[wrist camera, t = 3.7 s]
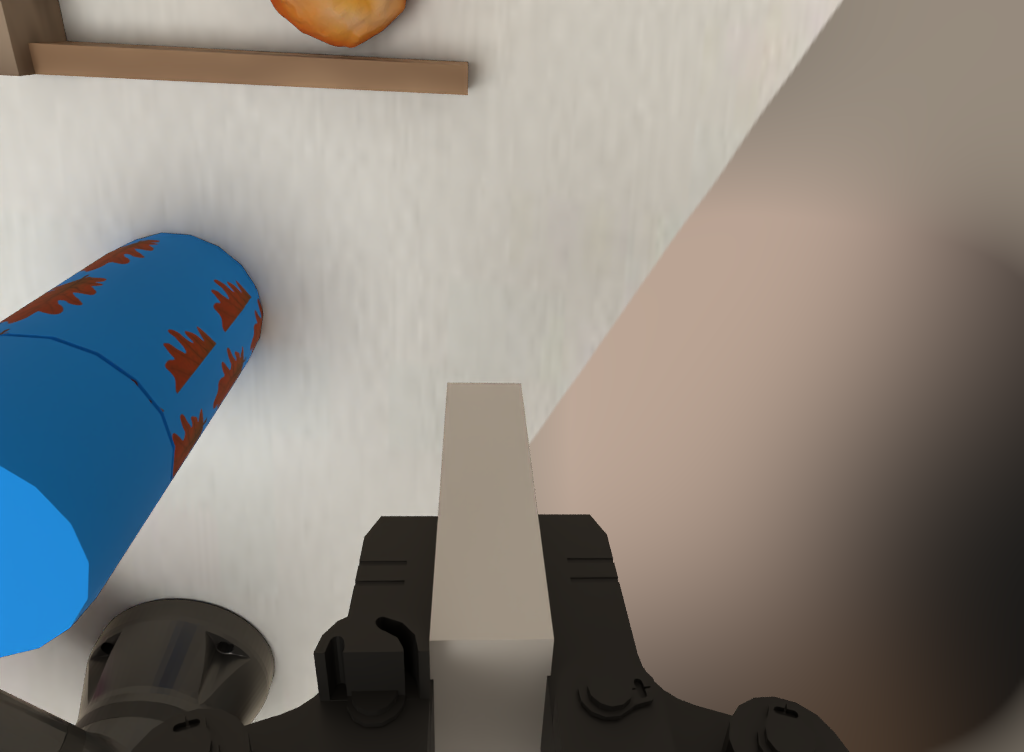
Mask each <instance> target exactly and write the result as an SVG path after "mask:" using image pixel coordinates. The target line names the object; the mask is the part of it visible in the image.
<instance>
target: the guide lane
mask: <svg viewBox="0 0 1024 752" xmlns="http://www.w3.org/2000/svg"><path fill="white" fill-rule="evenodd" d="M32 74H44V75H64V76H85V77H106V78H127V79H147V80H168V81H189V82H210V83H230V84H251V85H272V86H293V87H313V88H334V89H355V90H375V91H396V92H417V93H438V94H458V95H468V62H457V61H437V60H418V59H399V58H379V57H360V56H341V55H322V54H302V53H283V52H264V51H244V50H225V49H206V48H187V47H167V46H148V45H129V44H109V43H90V42H71V41H67V39H66V34H65V30H64V25H63V20H62V16H61V11H60V6H59V2H58V0H0V75H10V76H23V75H32Z"/></svg>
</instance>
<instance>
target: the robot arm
mask: <svg viewBox="0 0 1024 752" xmlns="http://www.w3.org/2000/svg"><path fill="white" fill-rule="evenodd" d="M314 659H315V667H316V675H317V682H318V690H319V693H318V694H317V695H316V696H315V697H313V698H312V699H310V700H309V701H307V702H306V703H304V704H303V705H301V706H300V707H298V708H295V709H293V710H291V711H288V712H286V713H283V714H281V715H278V716H274V717H271V718H268V719H265V720H261V721H258V722H255V723H252V721H253V720H254V718H255V717H256V716H257V714H258V713H259V712H260V710H261V708H262V707H263V705H264V703H265V701H266V698H267V695H268V692H269V689H270V685H271V682H272V679H273V674H274V660H273V656H272V653H271V650H270V648H269V646H268V644H267V643H266V641H265V640H264V638H263V637H262V636H261V634H260V633H259V632H258V631H257V630H256V629H255V628H254V627H252V626H251V625H250V624H249V623H247V622H246V621H245V620H243V619H242V618H240V617H238V616H237V615H235V614H233V613H231V612H229V611H227V610H224V609H222V608H219V607H216V606H213V605H210V604H206V603H202V602H196V601H189V600H159V601H153V602H148V603H144V604H140V605H138V606H135V607H132V608H130V609H128V610H126V611H124V612H123V613H121V614H119V615H118V616H117V617H115V618H114V619H113V620H112V621H111V622H110V623H109V624H108V625H107V627H106V628H105V629H104V631H103V633H102V634H101V636H100V638H99V639H98V641H97V643H96V644H95V646H94V648H93V650H92V652H91V654H90V657H89V660H88V663H87V668H86V674H85V680H84V686H83V692H82V698H81V704H80V710H79V716H78V721H77V723H76V725H73V724H71V723H69V722H67V721H65V720H63V719H61V718H59V717H57V716H55V715H52V714H50V713H48V712H46V711H44V710H42V709H40V708H38V707H36V706H34V705H32V704H30V703H28V702H26V701H24V700H22V699H20V698H17V697H15V696H13V695H11V694H9V693H7V692H5V691H3V690H1V689H0V752H849V751H848V750H847V748H846V747H845V746H844V744H843V743H842V742H841V741H840V739H839V738H838V737H837V735H836V734H835V733H834V732H833V731H832V730H831V729H830V728H829V727H828V726H827V725H826V724H825V723H824V722H823V721H822V720H821V719H820V718H819V717H818V716H817V715H816V714H814V713H813V712H811V711H809V710H808V709H806V708H804V707H802V706H801V705H799V704H797V703H795V702H791V701H788V700H784V699H780V698H777V697H760V698H753V699H751V700H749V701H747V702H745V703H743V704H741V705H739V706H738V708H737V710H736V711H735V713H734V714H733V716H731V715H728V714H724V713H721V712H717V711H713V710H710V709H706V708H703V707H699V706H696V705H693V704H690V703H688V702H685V701H682V700H680V699H677V698H676V697H674V696H673V695H671V694H669V693H668V692H666V691H664V690H663V689H662V688H661V687H660V686H659V685H657V684H656V683H655V682H654V680H653V678H652V677H651V676H650V675H649V674H648V673H647V672H646V671H645V669H644V668H643V666H642V664H641V662H640V659H639V656H638V654H637V650H636V646H635V642H634V639H633V634H632V630H631V627H630V623H629V619H628V615H627V611H626V607H625V604H624V599H623V596H622V592H621V588H620V584H619V582H618V576H617V572H616V568H615V565H614V563H613V557H612V553H611V549H610V545H609V542H608V537H607V534H606V533H605V532H604V531H603V530H602V528H601V527H600V526H599V525H598V524H597V523H596V521H595V520H594V519H593V518H592V517H591V516H590V515H538V512H537V504H536V497H535V489H534V481H533V473H532V466H531V458H530V451H529V442H528V434H527V427H526V419H525V411H524V403H523V396H522V388H521V384H516V383H447V397H446V411H445V425H444V439H443V453H442V468H441V482H440V496H439V510H438V516H381V517H380V519H379V520H378V521H377V522H376V523H375V525H374V526H373V527H372V528H371V530H370V531H369V532H368V533H367V535H366V536H365V537H364V542H363V546H362V551H361V556H360V563H359V566H358V570H357V575H356V580H355V586H354V590H353V594H352V599H351V604H350V609H349V614H348V617H346V618H344V619H341V620H339V621H337V622H336V623H335V624H334V625H333V626H332V627H331V628H330V629H329V630H328V631H327V632H325V633H324V634H323V635H322V637H321V639H320V641H319V643H318V645H317V647H316V649H315V651H314ZM251 723H252V724H251Z"/></svg>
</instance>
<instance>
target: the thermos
mask: <svg viewBox="0 0 1024 752" xmlns="http://www.w3.org/2000/svg"><path fill="white" fill-rule="evenodd" d="M262 318H263V311H262V307H261V303H260V299H259V295H258V291H257V288H256V286H255V285H254V283H253V282H252V280H251V279H250V277H249V276H248V274H247V273H246V271H245V270H244V268H243V267H242V265H241V264H239V263H238V262H237V261H236V260H234V259H233V258H232V257H231V256H230V255H228V254H227V253H226V252H225V251H223V250H222V249H221V248H220V247H218V246H216V245H214V244H211V243H209V242H206V241H204V240H201V239H199V238H196V237H194V236H192V235H183V234H171V233H159V234H155V235H152V236H148V237H144V238H141V239H137V240H134V241H132V242H130V243H128V244H126V245H124V246H122V247H120V248H118V249H116V250H114V251H112V252H110V253H108V254H106V255H104V256H103V257H101V258H100V259H98V260H97V261H95V262H94V263H92V264H90V265H89V266H87V267H86V268H84V269H83V270H81V271H79V272H78V273H76V274H75V275H73V276H72V277H70V278H69V279H67V280H65V281H64V282H62V283H61V284H59V285H58V286H56V287H54V288H53V289H51V290H50V291H48V292H47V293H45V294H44V295H42V296H40V297H39V298H37V299H36V300H34V301H33V302H31V303H29V304H28V305H26V306H25V307H23V308H22V309H20V310H19V311H17V312H15V313H14V314H12V315H11V316H9V317H8V318H6V319H4V320H3V321H1V322H0V657H4V656H8V655H12V654H16V653H21V652H25V651H29V650H33V649H37V648H40V647H41V646H43V645H44V644H46V643H47V642H49V641H50V640H52V639H54V638H55V637H57V636H58V635H60V634H61V633H63V632H64V631H66V630H68V629H69V628H70V627H71V626H72V625H73V624H74V623H75V622H76V621H77V619H78V618H79V617H80V616H81V615H82V614H83V612H84V611H85V610H86V609H87V608H88V607H89V606H90V604H91V603H92V602H93V601H94V600H95V599H96V597H97V596H98V594H99V593H100V591H101V590H102V588H103V587H104V585H105V584H106V582H107V580H108V579H109V577H110V576H111V574H112V573H113V571H114V570H115V568H116V566H117V565H118V563H119V562H120V560H121V559H122V557H123V556H124V554H125V552H126V551H127V549H128V548H129V546H130V545H131V543H132V542H133V540H134V538H135V537H136V535H137V534H138V532H139V531H140V529H141V528H142V526H143V524H144V523H145V521H146V520H147V518H148V517H149V515H150V514H151V512H152V510H153V509H154V507H155V506H156V504H157V503H158V501H159V500H160V498H161V496H162V495H163V493H164V492H165V490H166V489H167V487H168V486H169V484H170V482H171V481H172V479H173V478H174V476H175V475H176V473H177V472H178V470H179V468H180V467H181V465H182V464H183V462H184V461H185V459H186V458H187V456H188V454H189V453H190V451H191V450H192V448H193V447H194V445H195V444H196V442H197V441H198V439H199V437H200V436H201V434H202V433H203V431H204V430H205V428H206V427H207V425H208V423H209V422H210V420H211V419H212V417H213V416H214V414H215V413H216V411H217V409H218V408H219V406H220V405H221V403H222V402H223V400H224V399H225V397H226V395H227V394H228V392H229V391H230V389H231V388H232V386H233V385H234V383H235V381H236V380H237V378H238V377H239V375H240V373H241V372H242V370H243V368H244V367H245V365H246V363H247V362H248V360H249V358H250V356H251V354H252V352H253V350H254V348H255V346H256V344H257V342H258V340H259V338H260V333H261V326H262Z"/></svg>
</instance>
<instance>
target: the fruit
mask: <svg viewBox="0 0 1024 752" xmlns="http://www.w3.org/2000/svg"><path fill="white" fill-rule="evenodd" d="M270 1H271V2H272V4H273V6H274V8H275V9H276V10H277V11H278V13H279V14H281V15H282V16H283V17H285V18H286V19H287V20H288V21H289V22H291V23H292V24H293V25H294V26H295V27H296V28H297V29H299V30H300V31H301V32H303V33H305V34H308V35H310V36H312V37H314V38H316V39H319V40H321V41H323V42H326V43H328V44H330V45H333V46H337V47H343V46H344V47H349V48H353V47H356V46H358V45H360V44H362V43H363V42H365V41H367V40H368V39H370V38H371V37H373V36H375V35H376V34H378V33H380V32H381V31H383V30H384V29H385V28H386V27H387V26H388V25H389V24H390V23H391V22H392V21H393V20H394V19H395V18H396V17H397V16H398V15H399V14H400V13H402V12H403V10H404V9H405V4H406V0H270Z"/></svg>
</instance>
